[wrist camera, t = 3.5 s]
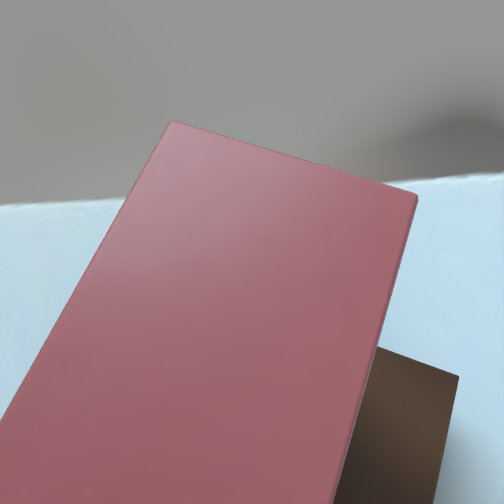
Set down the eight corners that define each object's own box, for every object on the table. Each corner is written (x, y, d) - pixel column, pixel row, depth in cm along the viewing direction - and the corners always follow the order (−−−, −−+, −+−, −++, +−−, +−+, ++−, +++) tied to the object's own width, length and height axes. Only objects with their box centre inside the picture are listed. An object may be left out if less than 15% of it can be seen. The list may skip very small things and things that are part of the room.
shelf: (371, 603, 16) (403, 651, 12) (67, 463, 18) (15, 466, 14) (421, 390, 18) (460, 375, 15) (153, 290, 20) (128, 255, 17)
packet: (268, 534, 13) (270, 734, 4) (154, 481, 14) (-77, 547, 4) (328, 349, 15) (423, 192, 6) (226, 311, 16) (169, 115, 6)
